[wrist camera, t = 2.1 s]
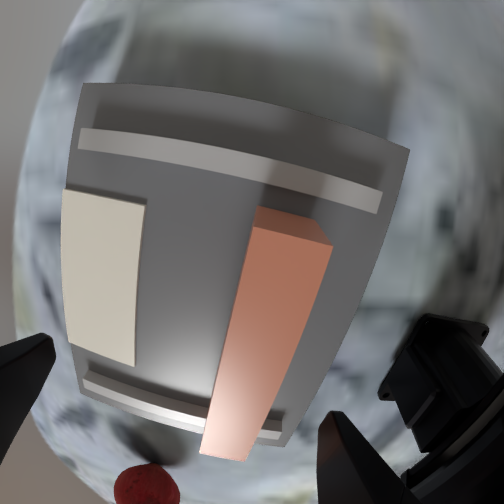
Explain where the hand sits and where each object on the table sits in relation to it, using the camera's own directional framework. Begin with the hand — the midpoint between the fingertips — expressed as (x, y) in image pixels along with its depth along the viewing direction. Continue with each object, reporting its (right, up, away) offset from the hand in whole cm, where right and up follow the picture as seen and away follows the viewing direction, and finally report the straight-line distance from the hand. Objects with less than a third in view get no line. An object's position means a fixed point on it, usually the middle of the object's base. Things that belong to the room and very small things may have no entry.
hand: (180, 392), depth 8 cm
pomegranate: (-7, -15, +13) cm, 21 cm away
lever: (+2, +1, +4) cm, 4 cm away
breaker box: (0, +2, +7) cm, 7 cm away
